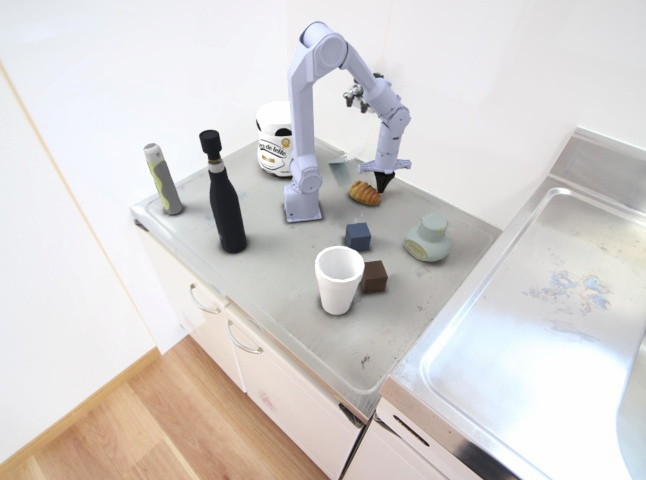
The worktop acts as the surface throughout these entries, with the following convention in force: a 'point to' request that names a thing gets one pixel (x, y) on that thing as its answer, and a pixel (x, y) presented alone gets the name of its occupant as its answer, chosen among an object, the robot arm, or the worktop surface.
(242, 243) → the wine bottle
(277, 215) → the worktop surface
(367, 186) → the pastry
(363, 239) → the slate block
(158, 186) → the spray bottle
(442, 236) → the air freshener
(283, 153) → the milk container
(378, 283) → the walnut block
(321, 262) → the foam cup
